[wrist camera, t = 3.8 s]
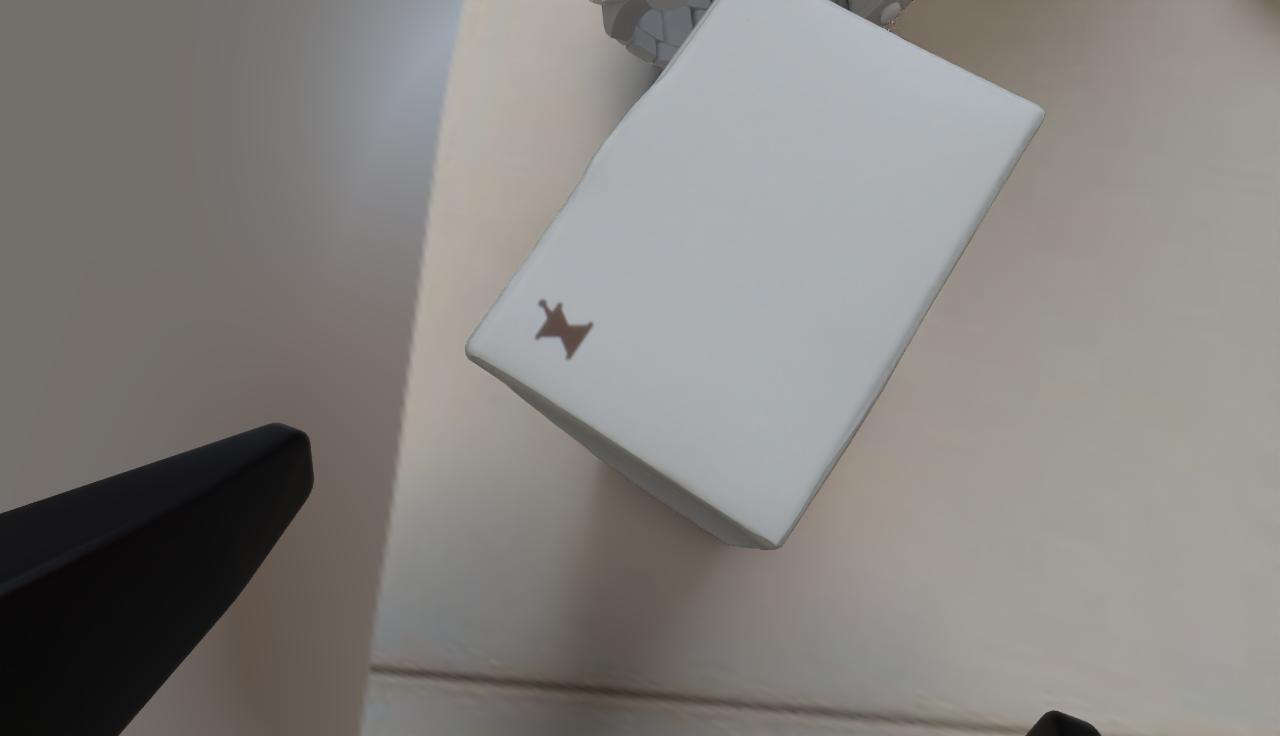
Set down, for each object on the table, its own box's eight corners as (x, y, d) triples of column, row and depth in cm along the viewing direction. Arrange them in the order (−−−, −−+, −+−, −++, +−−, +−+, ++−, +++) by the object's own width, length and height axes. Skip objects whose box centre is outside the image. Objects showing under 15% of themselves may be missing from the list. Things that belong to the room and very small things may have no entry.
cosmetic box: (733, 550, 19) (772, 576, 7) (597, 458, 20) (438, 349, 8) (856, 355, 20) (1067, 100, 8) (720, 275, 21) (735, -61, 9)
